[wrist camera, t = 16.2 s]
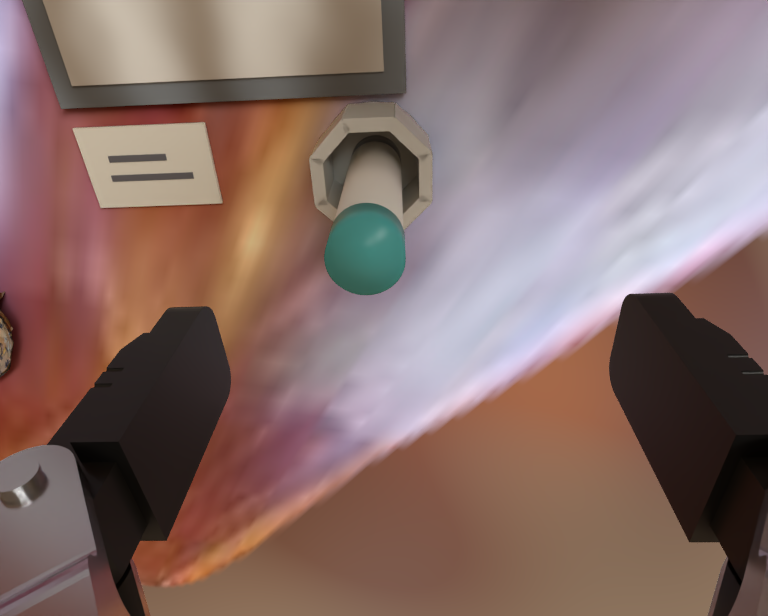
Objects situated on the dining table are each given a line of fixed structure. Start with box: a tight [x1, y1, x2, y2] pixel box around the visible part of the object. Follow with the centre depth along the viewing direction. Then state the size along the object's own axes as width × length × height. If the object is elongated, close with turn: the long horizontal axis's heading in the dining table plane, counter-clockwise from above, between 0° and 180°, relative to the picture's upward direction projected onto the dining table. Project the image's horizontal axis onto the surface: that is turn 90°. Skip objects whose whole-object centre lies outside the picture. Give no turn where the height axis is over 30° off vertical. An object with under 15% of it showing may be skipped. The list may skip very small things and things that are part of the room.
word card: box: [73, 122, 223, 208], centre depth 32 cm, size 5×8×1 cm, turn 93°
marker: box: [324, 135, 406, 295], centre depth 25 cm, size 3×3×14 cm
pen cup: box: [309, 101, 432, 230], centre depth 29 cm, size 6×6×4 cm
